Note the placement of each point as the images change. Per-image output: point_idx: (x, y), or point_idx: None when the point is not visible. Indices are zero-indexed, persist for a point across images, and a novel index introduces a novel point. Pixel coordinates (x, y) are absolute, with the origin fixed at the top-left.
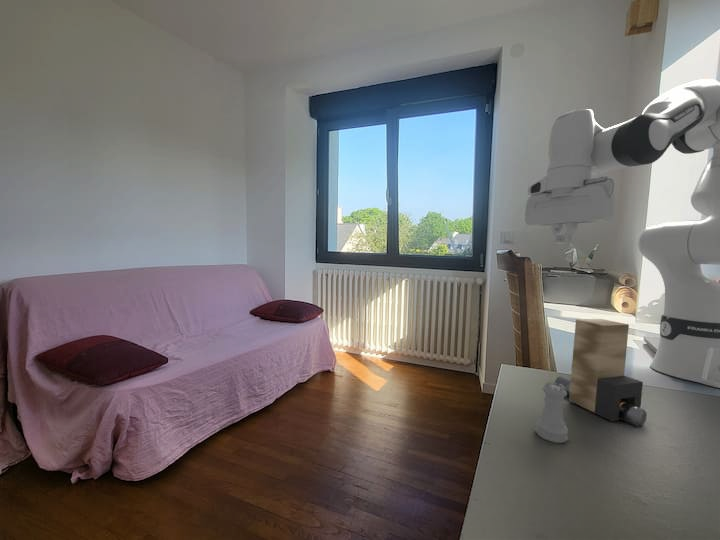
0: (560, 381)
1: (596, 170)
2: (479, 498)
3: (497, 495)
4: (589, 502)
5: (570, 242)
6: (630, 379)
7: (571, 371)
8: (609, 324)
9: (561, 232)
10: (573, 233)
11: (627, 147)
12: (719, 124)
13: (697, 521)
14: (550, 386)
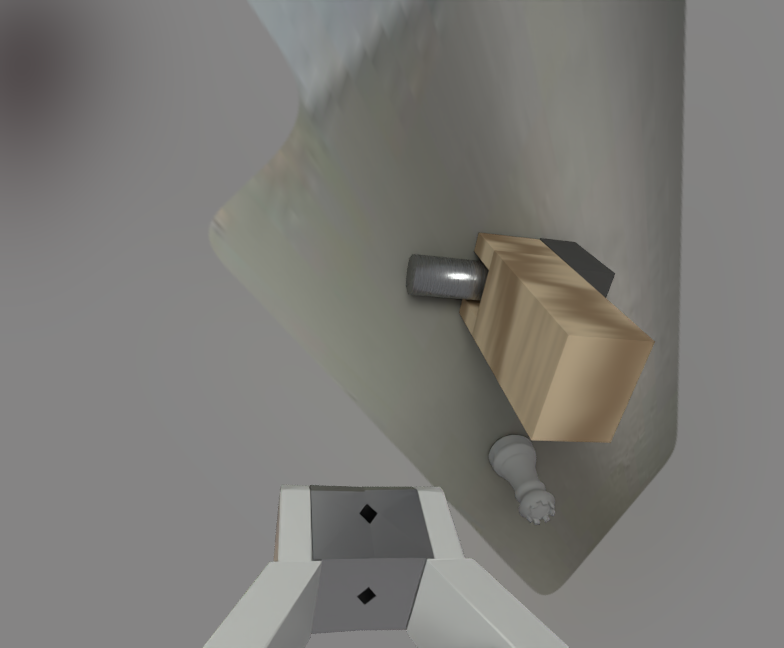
0: (424, 295)
1: None
2: (528, 583)
3: (535, 569)
4: (591, 509)
5: (440, 495)
6: (592, 285)
7: (479, 348)
8: (617, 409)
9: (289, 617)
10: (499, 588)
11: None
12: None
13: (666, 447)
14: (539, 524)
